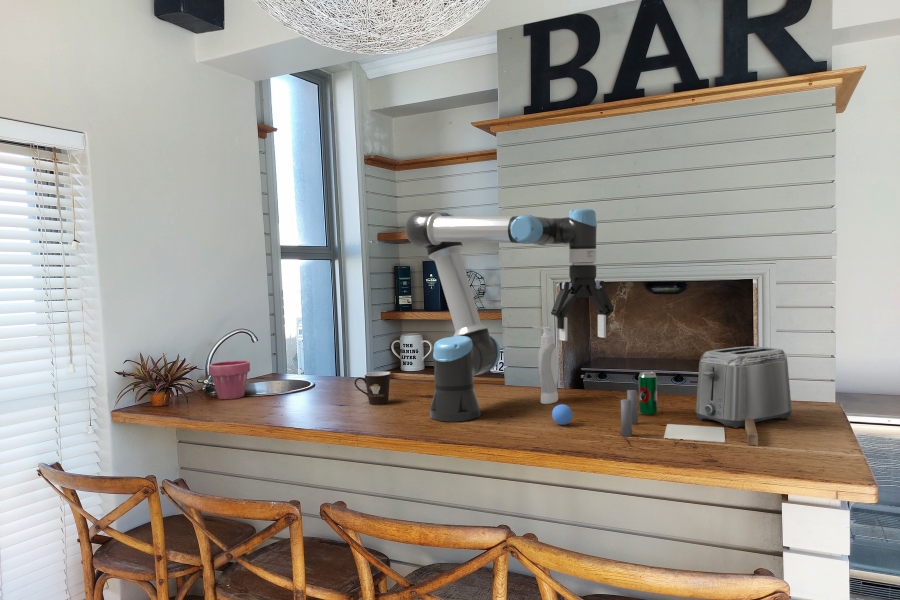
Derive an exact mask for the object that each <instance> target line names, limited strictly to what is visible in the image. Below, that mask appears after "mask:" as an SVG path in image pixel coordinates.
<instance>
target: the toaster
mask: <svg viewBox="0 0 900 600" xmlns="http://www.w3.org/2000/svg"><path fill="white" fill-rule="evenodd" d="M788 364H789V363H788V357H787V354H786V352H785V351H784V349H781V348H776V347H765V346H755V345H754V346H747V345H746V346H738V347H728V348H722V349H721V348H720V349H713V350H708V351H705V352H703V354H702V355H701V357H700V359H699V364H698V377H697V390H696V406H695V413H696V416H697V418H698V419H699V420H700V421H706V420H711V421H716V422H719V423H721V424H722V425H724V426H725V427H728V428H729V427H730V428H734V429H739V428H742V427H744V428H745V419H754V423H757V422H761V421H766V420H771V419H779V420H785V418H788V419H789V418H790V417H791V414H792V408H793V407H792V398H791V389H790V388H791V387H790V377H789V376H790V375H789V365H788Z"/></svg>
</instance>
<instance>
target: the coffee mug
mask: <svg viewBox="0 0 900 600" xmlns="http://www.w3.org/2000/svg"><path fill="white" fill-rule="evenodd" d="M358 380H361V381H363V382H364V384H365V386H366V391H367V392H366V391H364V390H363V389H361V388H360V387H359V386H358V384H357V381H358ZM390 381H391V372H390V371H371V372H366V373H364V377H357V378H356V379H355V380H354V387H355V388H356V389H357V390H358V391H359V392H361V393H363V394H364V395H366V396H367V398H368V403H369V404H368V405H371V406H382V405H386V404H389V398H390V397H389V394H390V383H391V382H390Z"/></svg>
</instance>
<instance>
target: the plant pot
mask: <svg viewBox="0 0 900 600" xmlns="http://www.w3.org/2000/svg"><path fill="white" fill-rule="evenodd" d="M250 371H251V365H250V361H249V360H227V361H218V362H212V363H210V364H209V365H208V372H209V376H211V378H212V381H213V384H214V389H215V392H216V395H217V398H218V399H219V400H234V399H240V398H242V397H245V391H246V387H247V380H248V373H249V372H250Z"/></svg>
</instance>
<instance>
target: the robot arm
mask: <svg viewBox="0 0 900 600" xmlns="http://www.w3.org/2000/svg"><path fill="white" fill-rule="evenodd" d="M596 216H597V214H596V211H595V210H594V209H589V208H583V209H581V208H578V209H572V210H570V211H569V213H568V216H567V217H554V218H550V217H549V218H548V217H540V216H534V215H531V214H529V215H528V214H525V215H517V216H516V215H484V216H483V215H481V216H480V215H477V216H476V215H475V216H473V215H466V216H465V215H463V216H462V215H457V216H455V215H453V214H451V213H448V212H443V211H441V212H438V211H429V210H419V211H416V212H414V213H413V214H411V215H410V216H409V217H408V219H407V220H406V224H405V227H404V229H405V230H404V231H405V235H406V238H407V239H408V241H409V242H410V243H411V244H412V245H414V246H415V247H418V248H423V249H426V252H427V257H428V258H429V259H430V260H433V261H434V263H435V266H436V271H437V274H438V277H439V280H440V283H441V286H442V287H441V288H442V290H443V294H444V297H445V300H446V303H447V304H446V305H447V308H448V310H449V314H450V317H451V320H452V323H453V327H454V330H455V331H454V334H453V336H450V337H448V336H447V337H443V338H440V339H438V340H437V341H435V343H434V345H433V355H432V356H433V367H434V368H433V370H434V371H433V372H434V374H433V375H434V394H433V397H432V400H431V404H430V407H429V408H430V409H429V415H430V417H429V418H431V419H432V420H434V421H438V422H439V421H440V422H452V423H453V422H465V421H472V420H475V419H478V418H480V417H481V406H480V404H479V400H478V398H477V395H476V392H475V388H474V387H475V386H474V377H475V376H477V375H483V374H485V373H488V372H489V371H492V370H493V369H494V368H495V367H496V366H497V365H498V363H499V361H500V359H501V347H500V344H499V343H498V341H497V340H496V339H495V338H494V337H493V336H491V335H490V331H489V327H487V326H486V325H484V324H482V322H481V318H480V316H479V313H478V309H477V306H476V302H475V298H474V295H473V292H472V289H471V285H470V282H469V279H468V275H467V272H466V268H465V266H464V261H463V259H462V255H461V252H462V251H463V249H464V246H463V243H487V244H488V243H492V244H493V243H495V244H496V243H497V244H522V245H523V244H524V245H530V244H532V245H535V246H536V245H537V246H545V245H561V244H562V245H568V246H569V247H568V248H569V249H568V250H569V251H568V253H569V255H568V256H569V257H568V260H569V261H568V263H569V264H571V265H569V270H568V272H569V274H568V275H569V279H570V281H560V288H559V292H558V294H557V296H556V299H555V301H554V304H553V307H552V308H551V312H550V314H551V315H552V316H555V318H557V319H556V320H557V325H556V327H557V329H558V331H559V339H558V340H560V341H564V342H568V317H566V315H567V314H568V312H569V310H570V309H571V307H572V306H573V305H574V304H575V301H576V300H578V299H579V298H588V299H590V301H591V303H592V304H593V306H594V307H595V308H596V310H597V311H598V312H599V314H597V337H598V338H604V339H605V338H606V337H607V326H608V323H609V322H608V316H610V315H611V313H613V312H614V307H613V305H612V303H611V299H610V297H609V296H608V292H607V289H606V285H605V284H606V283H605V281H604V280H596V277H597V265H596V263H597V217H596ZM595 289H596V290H595Z"/></svg>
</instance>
